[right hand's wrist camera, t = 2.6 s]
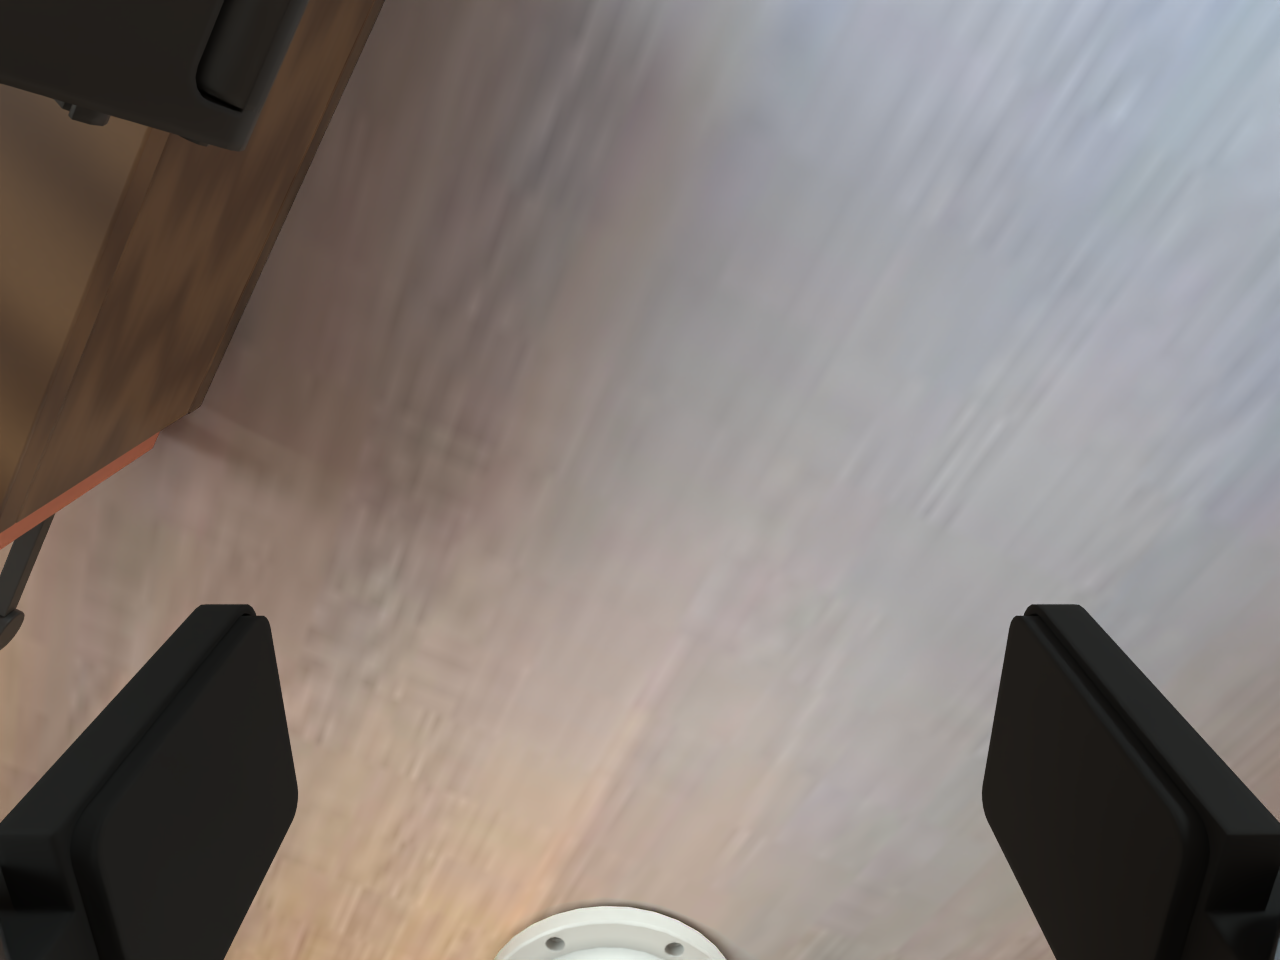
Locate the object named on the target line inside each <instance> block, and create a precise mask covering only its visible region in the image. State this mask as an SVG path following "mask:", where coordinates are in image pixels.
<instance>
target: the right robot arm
mask: <svg viewBox="0 0 1280 960" xmlns="http://www.w3.org/2000/svg"><path fill="white" fill-rule="evenodd" d="M297 802H298V787H297V781H296V775H295V769H294V763H293V757H292V751H291V745H290V739H289V734H288V728H287V722H286V716H285V710H284V704H283V698H282V692H281V686H280V681H279V675H278V669H277V663H276V657H275V651H274V645H273V639H272V633H271V628H270V624H269V621H268V619H267V618H266V617H265V616H256V613H255V611H254V610H253V608H252V607H251V606H250V605H248V604H206V605H200V606H199V607H197V608H196V609H195V610H194V611H193V612H192V613H191V615H190V616H189V617H188V618H187V619H186V620H185V621H184V622H183V623H182V624H181V625H180V627H179V628H178V629H177V630H176V631H175V632H174V633H173V634H172V635H171V636H170V638H169V639H168V640H167V641H166V642H165V643H164V644H163V645H162V646H161V647H160V649H159V650H158V651H157V652H156V653H155V654H154V655H153V656H152V657H151V658H150V659H149V661H148V662H147V663H146V664H145V665H144V666H143V667H142V668H141V669H140V670H139V672H138V673H137V674H136V675H135V676H134V677H133V678H132V679H131V680H130V681H129V682H128V684H127V685H126V686H125V687H124V688H123V689H122V690H121V691H120V692H119V693H118V695H117V696H116V697H115V698H114V699H113V700H112V701H111V702H110V703H109V704H108V705H107V707H106V708H105V709H104V710H103V711H102V712H101V713H100V714H99V715H98V716H97V718H96V719H95V720H94V721H93V722H92V723H91V724H90V725H89V726H88V727H87V729H86V730H85V731H84V732H83V733H82V734H81V735H80V736H79V737H78V738H77V739H76V741H75V742H74V743H73V744H72V745H71V746H70V747H69V748H68V749H67V750H66V752H65V753H64V754H63V755H62V756H61V757H60V758H59V759H58V760H57V761H56V762H55V764H54V765H53V766H52V767H51V768H50V769H49V770H48V771H47V772H46V773H45V775H44V776H43V777H42V778H41V779H40V780H39V781H38V782H37V783H36V784H35V785H34V787H33V788H32V789H31V790H30V791H29V792H28V793H27V794H26V795H25V796H24V798H23V799H22V800H21V801H20V802H19V803H18V804H17V805H16V806H15V807H14V809H13V810H12V811H11V812H10V813H9V814H8V815H7V816H6V817H5V818H4V819H3V821H2V822H1V823H0V960H224V958H225V956H226V954H227V952H228V950H229V948H230V946H231V944H232V942H233V939H234V937H235V935H236V933H237V931H238V929H239V927H240V925H241V923H242V921H243V919H244V917H245V915H246V913H247V911H248V909H249V907H250V905H251V903H252V901H253V899H254V897H255V895H256V893H257V891H258V889H259V887H260V885H261V883H262V881H263V879H264V877H265V875H266V873H267V871H268V869H269V867H270V865H271V863H272V861H273V859H274V857H275V855H276V853H277V851H278V849H279V847H280V845H281V843H282V841H283V839H284V837H285V835H286V833H287V831H288V829H289V827H290V825H291V823H292V821H293V818H294V816H295V812H296V808H297ZM982 802H983V808H984V812H985V816H986V818H987V821H988V823H989V825H990V827H991V829H992V831H993V833H994V835H995V837H996V839H997V841H998V843H999V845H1000V847H1001V849H1002V851H1003V853H1004V855H1005V857H1006V859H1007V861H1008V863H1009V865H1010V867H1011V869H1012V871H1013V873H1014V875H1015V877H1016V879H1017V881H1018V883H1019V885H1020V887H1021V889H1022V891H1023V893H1024V895H1025V897H1026V899H1027V901H1028V903H1029V905H1030V907H1031V909H1032V911H1033V913H1034V915H1035V917H1036V919H1037V921H1038V923H1039V925H1040V927H1041V929H1042V931H1043V933H1044V935H1045V937H1046V939H1047V941H1048V943H1049V945H1050V947H1051V950H1052V952H1053V954H1054V956H1055V958H1056V960H1280V823H1279V822H1278V821H1277V819H1276V818H1275V817H1274V816H1273V815H1272V814H1271V813H1270V812H1269V811H1268V810H1267V808H1266V807H1265V806H1264V805H1263V804H1262V803H1261V802H1260V801H1259V800H1258V799H1257V798H1256V796H1255V795H1254V794H1253V793H1252V792H1251V791H1250V790H1249V789H1248V788H1247V787H1246V785H1245V784H1244V783H1243V782H1242V781H1241V780H1240V779H1239V778H1238V777H1237V776H1236V774H1235V773H1234V772H1233V771H1232V770H1231V769H1230V768H1229V767H1228V766H1227V765H1226V764H1225V762H1224V761H1223V760H1222V759H1221V758H1220V757H1219V756H1218V755H1217V754H1216V753H1215V751H1214V750H1213V749H1212V748H1211V747H1210V746H1209V745H1208V744H1207V743H1206V742H1205V741H1204V739H1203V738H1202V737H1201V736H1200V735H1199V734H1198V733H1197V732H1196V731H1195V730H1194V728H1193V727H1192V726H1191V725H1190V724H1189V723H1188V722H1187V721H1186V720H1185V719H1184V718H1183V716H1182V715H1181V714H1180V713H1179V712H1178V711H1177V710H1176V709H1175V708H1174V707H1173V705H1172V704H1171V703H1170V702H1169V701H1168V700H1167V699H1166V698H1165V697H1164V696H1163V695H1162V693H1161V692H1160V691H1159V690H1158V689H1157V688H1156V687H1155V686H1154V685H1153V684H1152V682H1151V681H1150V680H1149V679H1148V678H1147V677H1146V676H1145V675H1144V674H1143V673H1142V671H1141V670H1140V669H1139V668H1138V667H1137V666H1136V665H1135V664H1134V663H1133V662H1132V661H1131V659H1130V658H1129V657H1128V656H1127V655H1126V654H1125V653H1124V652H1123V651H1122V650H1121V648H1120V647H1119V646H1118V645H1117V644H1116V643H1115V642H1114V641H1113V640H1112V639H1111V638H1110V636H1109V635H1108V634H1107V633H1106V632H1105V631H1104V630H1103V629H1102V628H1101V627H1100V625H1099V624H1098V623H1097V622H1096V621H1095V620H1094V619H1093V618H1092V617H1091V616H1090V615H1089V613H1088V612H1087V611H1086V610H1085V609H1084V608H1083V607H1081V606H1080V605H1074V604H1032V605H1030V606H1029V607H1028V608H1027V610H1026V611H1025V613H1024V616H1015V617H1014V618H1013V620H1012V621H1011V624H1010V628H1009V634H1008V640H1007V645H1006V651H1005V657H1004V663H1003V669H1002V675H1001V681H1000V687H999V692H998V698H997V704H996V710H995V716H994V722H993V728H992V734H991V740H990V745H989V751H988V757H987V763H986V769H985V775H984V781H983V787H982ZM494 960H726V958H725V957H724V956H723V955H722V953H721V952H720V951H719V950H718V948H717V947H716V946H715V945H714V944H713V943H712V942H710V941H709V940H708V939H707V938H705V937H704V936H703V935H702V934H701V933H699V932H698V931H696V930H695V929H693V928H691V927H689V926H687V925H686V924H684V923H682V922H680V921H678V920H676V919H673V918H670V917H667V916H665V915H662V914H659V913H656V912H653V911H647V910H642V909H637V908H632V907H618V906H598V907H588V908H579V909H575V910H571V911H567V912H563V913H559V914H555V915H553V916H550V917H548V918H546V919H543V920H541V921H539V922H536V923H534V924H532V925H531V926H529V927H528V928H526V929H525V930H523V931H522V932H520V933H519V934H517V935H515V936H514V937H513V938H512V939H511V940H510V941H509V942H508V943H507V944H506V945H505V946H504V947H503V948H502V949H501V950H500V951H499V952H498V954H497V955H496V957H495V958H494Z"/></svg>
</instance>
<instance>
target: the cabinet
mask: <svg viewBox="0 0 1280 960" xmlns="http://www.w3.org/2000/svg"><path fill="white" fill-rule="evenodd" d="M384 1H385V0H309V3H308V5H307V7H306V9H305V12H304V14H303V16H302V19H301V21H300V23H299V26H298V28H297V30H296V33H295V35H294V37H293V40H292V42H291V44H290V47H289V49H288V51H287V53H286V56H285V58H284V60H283V63H282V65H281V67H280V70H279V72H278V74H277V77H276V79H275V81H274V84H273V86H272V88H271V90H270V93H269V95H268V97H267V100H266V102H265V104H264V107H263V109H262V111H261V114H260V116H259V118H258V121H257V123H256V125H255V127H254V130H253V132H252V134H251V137H250V139H249V141H248V144H247V146H246V148H245V150H243V151H240V152H238V151H230V150H227V149H224V148H220V147H217V146H213V145H210V146H208V147H205V146H201V145H198V144H195V143H193V142H191V141H188V140H186V139H184V138H182V137H180V136H179V135H176V134H172V133H169V132H165V131H162V130H158V129H155V128H152V127H148V126H145V125H141V124H138V123H134V122H131V121H128V120H124V119H121V118H117V117H114V116H110V119H109V121H108V123H107V124H106V125H104V126H97V125H89V124H86V123H82V122H79V121H76V120H72V119H71V118H70V117H69V116H68V114H69V112H70V111H67V110H65V109H62V108H61V107H60V106H59V105H58V103H57V102H56V101H55V100H54V99H52V98H49V97H45V96H42V95H38V94H35V93H32V92H28V91H25V90H21V89H18V88H14V87H11V86H8V85H4V84H1V83H0V533H2V532H3V531H5V530H6V529H8V528H9V527H11V526H12V525H14V524H15V523H18V522H19V521H21V520H22V519H24V518H25V517H27V516H29V515H30V514H32V513H33V512H35V511H36V510H38V509H39V508H41V507H43V506H44V505H46V504H47V503H49V502H50V501H52V500H53V499H55V498H57V497H58V496H60V495H61V494H63V493H64V492H66V491H67V490H69V489H71V488H72V487H74V486H75V485H77V484H78V483H80V482H82V481H83V480H85V479H86V478H88V477H89V476H91V475H92V474H94V473H96V472H97V471H99V470H100V469H102V468H103V467H105V466H106V465H108V464H110V463H111V462H113V461H114V460H116V459H117V458H119V457H120V456H122V455H124V454H125V453H127V452H128V451H130V450H131V449H133V448H134V447H136V446H138V445H139V444H141V443H142V442H144V441H145V440H147V439H149V438H150V437H152V436H153V435H155V434H156V433H158V432H159V431H161V430H163V429H164V428H166V427H167V426H169V425H170V424H172V423H173V422H175V421H177V420H178V419H180V418H181V417H183V416H184V415H186V414H187V413H191V412H192V411H194V410H196V409H197V408H199V407H200V406H201V404H202V401H203V399H204V397H205V395H206V393H207V390H208V388H209V386H210V384H211V382H212V379H213V377H214V375H215V373H216V371H217V368H218V366H219V364H220V362H221V360H222V357H223V355H224V353H225V351H226V349H227V346H228V344H229V342H230V340H231V338H232V335H233V333H234V331H235V329H236V327H237V324H238V322H239V320H240V318H241V316H242V313H243V311H244V309H245V307H246V305H247V302H248V300H249V298H250V296H251V294H252V291H253V289H254V287H255V285H256V283H257V280H258V278H259V276H260V274H261V272H262V269H263V267H264V265H265V263H266V261H267V258H268V256H269V254H270V252H271V250H272V247H273V245H274V243H275V241H276V239H277V236H278V234H279V232H280V230H281V228H282V225H283V223H284V221H285V219H286V217H287V214H288V212H289V210H290V208H291V206H292V203H293V201H294V199H295V197H296V195H297V192H298V190H299V188H300V186H301V184H302V181H303V179H304V177H305V175H306V173H307V170H308V168H309V166H310V164H311V162H312V159H313V157H314V155H315V153H316V151H317V148H318V146H319V144H320V142H321V140H322V137H323V135H324V133H325V131H326V129H327V126H328V124H329V122H330V120H331V118H332V115H333V113H334V111H335V109H336V107H337V104H338V102H339V100H340V98H341V96H342V93H343V91H344V89H345V87H346V85H347V82H348V80H349V78H350V76H351V74H352V71H353V69H354V67H355V65H356V63H357V60H358V58H359V56H360V54H361V52H362V49H363V47H364V45H365V43H366V41H367V38H368V36H369V34H370V32H371V30H372V27H373V25H374V23H375V21H376V19H377V16H378V14H379V12H380V10H381V8H382V5H383V3H384Z"/></svg>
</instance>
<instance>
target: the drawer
mask: <svg viewBox="0 0 1280 960" xmlns="http://www.w3.org/2000/svg"><path fill="white" fill-rule="evenodd" d="M159 432H160V431H159ZM159 432H158V433H156V434H155V435H153V436H152V437H150V438H149V439H147V440H145V441H144V442H142V443H141V444H139V445H138V446H136V447H134V448H133V449H131V450H130V451H128V452H127V453H125V454H124V455H122V456H120V457H119V458H117V459H116V460H114V461H113V462H111V463H110V464H108V465H106V466H105V467H103V468H102V469H100V470H99V471H97V472H96V473H94V474H92V475H91V476H89V477H88V478H86V479H85V480H83V481H82V482H80V483H78V484H77V485H75V486H74V487H72V488H71V489H69V490H67V491H66V492H64V493H63V494H61V495H60V496H58V497H57V498H55V499H53V500H52V501H50V502H49V503H47V504H46V505H44V506H43V507H41V508H39V509H38V510H36V511H35V512H33V513H32V514H30V515H29V516H27V517H25V518H24V519H22V520H21V521H19V522H18V523H15V524H14V525H12V526H11V527H9V528H8V529H6V530H5V531H3V532H2V533H0V549H2V548H3V547H5V546H6V545H8V544H9V543H11V542H12V541H14V542H13V545H12V547H11V550H10V552H9V555H8V557H7V560H6V562H5V565H4V567H3V570H2V572H1V575H0V650H1V649H2V648H4V647H5V646H6V645H7V644H8V643H9V642H10V641H11V640H12V638H13V637H14V636H15V634H16V633H17V632H18V630H19V628H20V627H21V625H22V622H23V620H24V613H23V612H22V611H20V610H18V609H16V607H17V605H18V602H19V600H20V597H21V595H22V593H23V590H24V588H25V585H26V583H27V580H28V578H29V576H30V573H31V571H32V568H33V566H34V564H35V561H36V559H37V556H38V554H39V551H40V549H41V547H42V544H43V542H44V539H45V537H46V534H47V532H48V530H49V527H50V525H51V522H52V520H53V517H54V515H55V513H56V512H57V511H59V510H60V509H62V508H63V507H65V506H66V505H68V504H69V503H71V502H72V501H74V500H75V499H77V498H78V497H80V496H81V495H83V494H84V493H86V492H87V491H89V490H90V489H92V488H93V487H95V486H96V485H98V484H99V483H101V482H102V481H104V480H105V479H107V478H108V477H110V476H111V475H113V474H114V473H116V472H117V471H119V470H120V469H122V468H123V467H125V466H126V465H128V464H129V463H131V462H132V461H134V460H135V459H137V458H138V457H140V456H141V455H143V454H144V453H146V452H147V451H149V450H150V449H152V448H153V446H154V444H155V441H156V439H157V437H158V435H159Z"/></svg>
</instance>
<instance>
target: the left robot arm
mask: <svg viewBox="0 0 1280 960" xmlns="http://www.w3.org/2000/svg"><path fill="white" fill-rule="evenodd" d="M308 3H309V0H0V83H1V84H4V85H8V86H11V87H14V88H18V89H21V90H25V91H28V92H32V93H35V94H38V95H42V96H45V97H49V98H52V99H54V100H55V101H56V102H57V103H58V105H59V106H60V107H61V108H62V109H65V110H67V111H70V112H69V114H68V116H69V117H70V118H71V119H72V120H76V121H79V122H82V123H86V124H89V125H97V126H104V125H106V124H107V123H108V121H109V119H110V116H114V117H117V118H121V119H124V120H128V121H131V122H134V123H138V124H141V125H145V126H148V127H152V128H155V129H158V130H162V131H165V132H169V133H172V134H176V135H179V136H180V137H182V138H184V139H186V140H188V141H191V142H193V143H195V144H198V145H201V146H205V147H208V146H210V145H213V146H217V147H220V148H224V149H227V150H230V151H238V152H240V151H243V150H245V148H246V146H247V144H248V141H249V139H250V137H251V134H252V132H253V130H254V127H255V125H256V123H257V121H258V118H259V116H260V114H261V111H262V109H263V107H264V104H265V102H266V100H267V97H268V95H269V93H270V90H271V88H272V86H273V84H274V81H275V79H276V77H277V74H278V72H279V70H280V67H281V65H282V63H283V60H284V58H285V56H286V53H287V51H288V49H289V47H290V44H291V42H292V40H293V37H294V35H295V33H296V30H297V28H298V26H299V23H300V21H301V19H302V16H303V14H304V12H305V9H306V7H307V5H308Z"/></svg>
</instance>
